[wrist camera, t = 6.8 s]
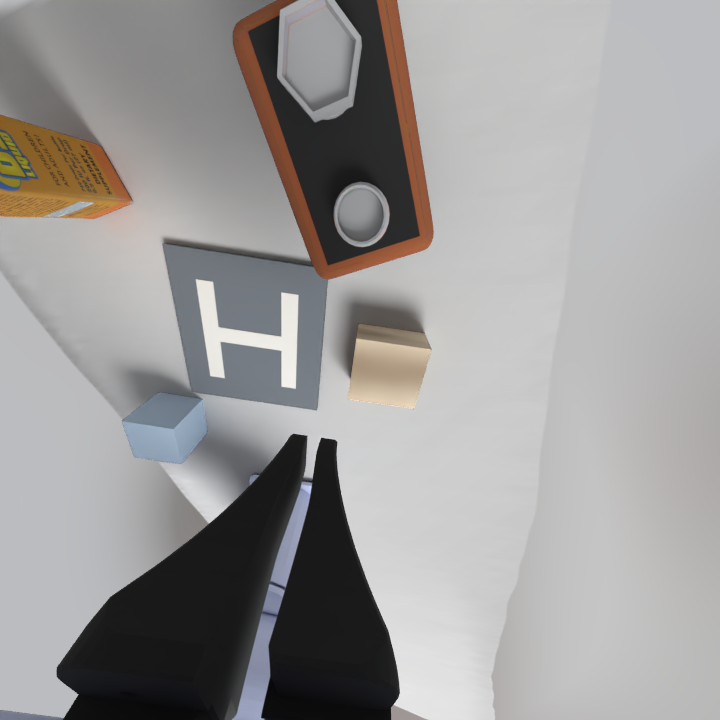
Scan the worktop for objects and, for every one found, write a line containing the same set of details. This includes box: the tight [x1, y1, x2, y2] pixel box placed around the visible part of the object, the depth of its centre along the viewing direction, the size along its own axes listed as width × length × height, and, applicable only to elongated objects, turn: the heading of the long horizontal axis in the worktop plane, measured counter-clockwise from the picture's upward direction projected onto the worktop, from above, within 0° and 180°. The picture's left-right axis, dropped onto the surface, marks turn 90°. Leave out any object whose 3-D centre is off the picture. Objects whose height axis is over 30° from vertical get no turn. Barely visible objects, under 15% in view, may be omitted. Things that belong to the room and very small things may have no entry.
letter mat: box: [163, 243, 328, 410], centre depth 21 cm, size 12×11×1 cm
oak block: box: [348, 324, 432, 409], centre depth 20 cm, size 5×5×3 cm
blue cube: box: [122, 392, 208, 464], centre depth 23 cm, size 4×4×4 cm
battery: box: [233, 0, 433, 279], centre depth 11 cm, size 4×7×10 cm, turn 17°
